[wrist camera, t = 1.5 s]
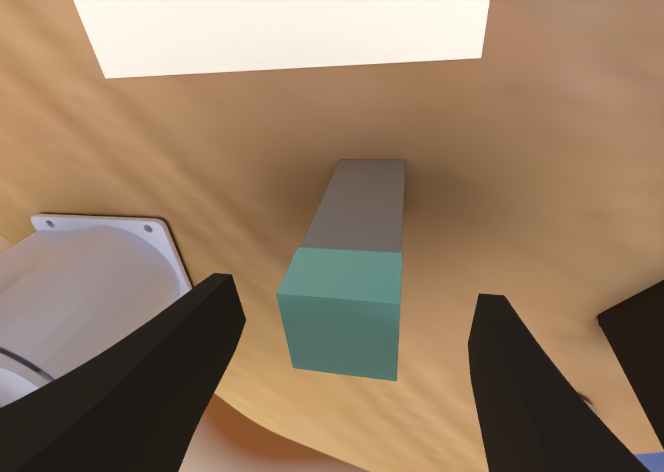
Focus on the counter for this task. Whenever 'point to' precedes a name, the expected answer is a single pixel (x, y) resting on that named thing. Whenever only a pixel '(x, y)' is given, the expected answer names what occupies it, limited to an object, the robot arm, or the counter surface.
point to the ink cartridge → (641, 348)
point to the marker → (349, 275)
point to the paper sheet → (276, 33)
